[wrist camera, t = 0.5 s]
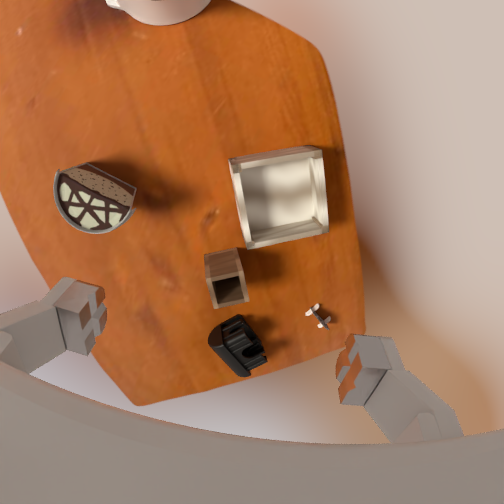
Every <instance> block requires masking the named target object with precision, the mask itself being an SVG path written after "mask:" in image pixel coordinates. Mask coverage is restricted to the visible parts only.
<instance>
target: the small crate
mask: <svg viewBox="0 0 504 504" xmlns="http://www.w3.org/2000/svg"><path fill="white" fill-rule="evenodd" d="M204 261H205V276H206V282H207V285H208V289H209V292H210V296H211V300H212V303H213V307H214V309H217V308H221V307H226V306H230V305H235V304H239V303H244V302H248V301H249V297H248V292H247V287H246V282H245V277H244V272H243V268H242V265H241V261H240V258H239V254H238V251H237V247H236V248H232V249H227V250H222V251H218V252H213V253H209V254H204Z"/></svg>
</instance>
